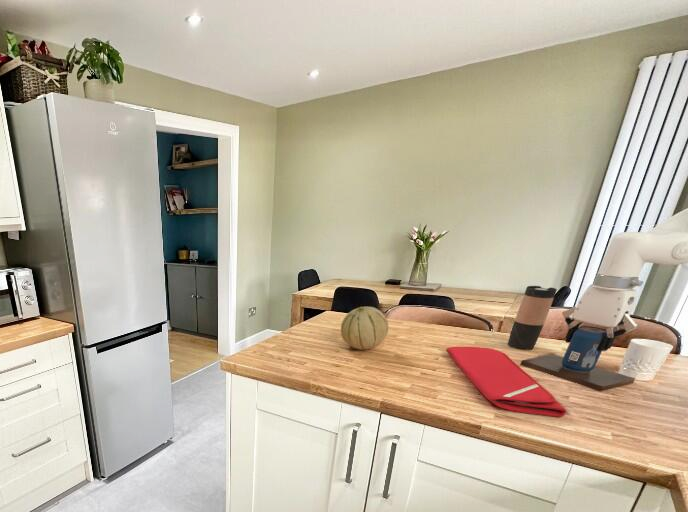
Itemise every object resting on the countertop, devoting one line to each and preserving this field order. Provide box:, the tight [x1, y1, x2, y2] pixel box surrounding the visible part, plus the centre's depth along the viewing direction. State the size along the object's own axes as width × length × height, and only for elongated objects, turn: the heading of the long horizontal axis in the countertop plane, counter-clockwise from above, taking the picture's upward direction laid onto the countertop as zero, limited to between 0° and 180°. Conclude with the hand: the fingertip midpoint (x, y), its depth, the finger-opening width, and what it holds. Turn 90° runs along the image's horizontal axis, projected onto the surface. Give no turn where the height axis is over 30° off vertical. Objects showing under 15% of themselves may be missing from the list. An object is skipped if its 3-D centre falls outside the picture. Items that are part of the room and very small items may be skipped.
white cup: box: [617, 338, 674, 382], centre depth 111 cm, size 8×8×10 cm
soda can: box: [562, 325, 607, 373], centre depth 113 cm, size 7×7×12 cm
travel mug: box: [507, 285, 558, 351], centre depth 132 cm, size 8×8×20 cm
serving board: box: [520, 353, 636, 392], centre depth 115 cm, size 20×14×2 cm
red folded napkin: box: [445, 346, 567, 418], centre depth 112 cm, size 16×41×4 cm, turn 161°
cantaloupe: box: [340, 306, 390, 351], centre depth 135 cm, size 15×15×15 cm
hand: (586, 345), depth 112 cm, fingers closed on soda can, 7 cm apart
